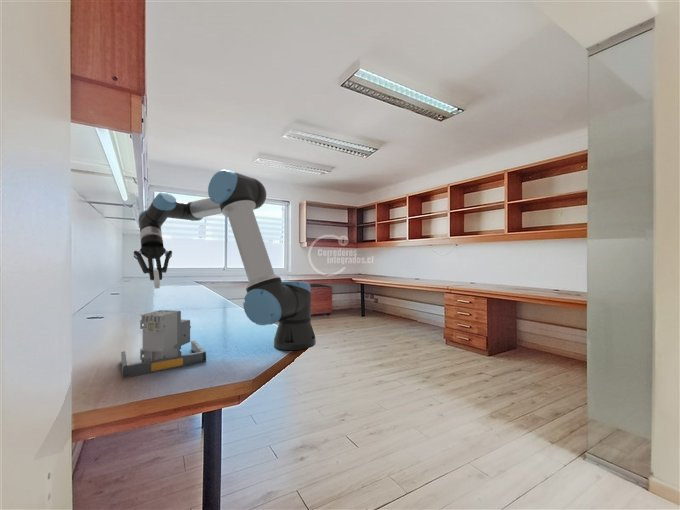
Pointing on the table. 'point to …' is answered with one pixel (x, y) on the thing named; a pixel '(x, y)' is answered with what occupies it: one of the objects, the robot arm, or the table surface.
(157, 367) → the lockout stall
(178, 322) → the circuit breaker
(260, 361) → the table surface
